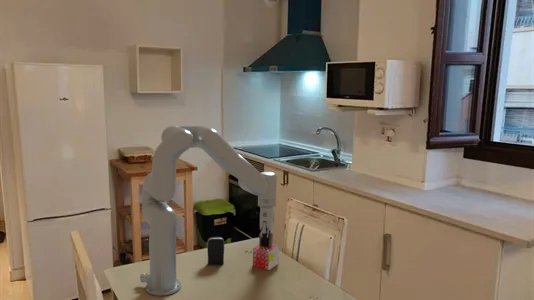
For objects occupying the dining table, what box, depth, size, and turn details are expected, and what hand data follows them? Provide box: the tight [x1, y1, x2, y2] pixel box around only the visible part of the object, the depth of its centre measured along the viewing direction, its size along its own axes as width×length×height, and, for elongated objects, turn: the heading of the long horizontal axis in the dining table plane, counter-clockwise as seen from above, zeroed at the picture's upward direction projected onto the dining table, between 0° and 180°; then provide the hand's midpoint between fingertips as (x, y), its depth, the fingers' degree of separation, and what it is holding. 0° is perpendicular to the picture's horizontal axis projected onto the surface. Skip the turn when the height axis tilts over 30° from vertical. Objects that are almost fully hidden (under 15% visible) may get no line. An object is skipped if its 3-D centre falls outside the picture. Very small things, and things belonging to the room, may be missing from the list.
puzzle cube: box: [252, 243, 280, 271], centre depth 179 cm, size 8×8×8 cm
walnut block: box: [258, 230, 274, 248], centre depth 178 cm, size 5×5×5 cm
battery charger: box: [206, 236, 225, 266], centre depth 179 cm, size 7×4×11 cm, turn 100°
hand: (265, 243), depth 178 cm, fingers closed on walnut block, 5 cm apart
